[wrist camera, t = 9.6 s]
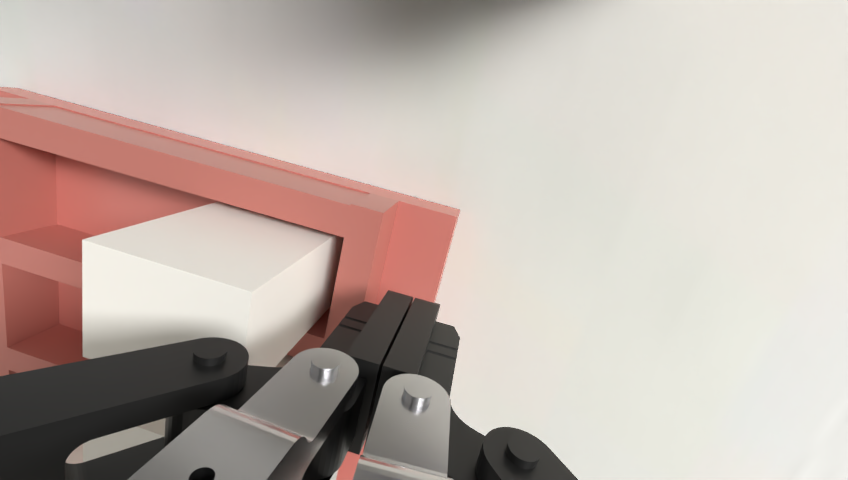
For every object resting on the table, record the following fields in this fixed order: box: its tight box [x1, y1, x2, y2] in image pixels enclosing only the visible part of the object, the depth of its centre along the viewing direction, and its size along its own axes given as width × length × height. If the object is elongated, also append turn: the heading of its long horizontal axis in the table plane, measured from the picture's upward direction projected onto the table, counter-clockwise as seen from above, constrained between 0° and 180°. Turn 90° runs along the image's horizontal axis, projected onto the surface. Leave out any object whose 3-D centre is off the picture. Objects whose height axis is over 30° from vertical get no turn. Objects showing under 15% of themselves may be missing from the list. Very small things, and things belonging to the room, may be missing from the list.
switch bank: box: [0, 87, 460, 480], centre depth 16 cm, size 15×18×3 cm
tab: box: [82, 202, 344, 367], centre depth 12 cm, size 3×4×6 cm
